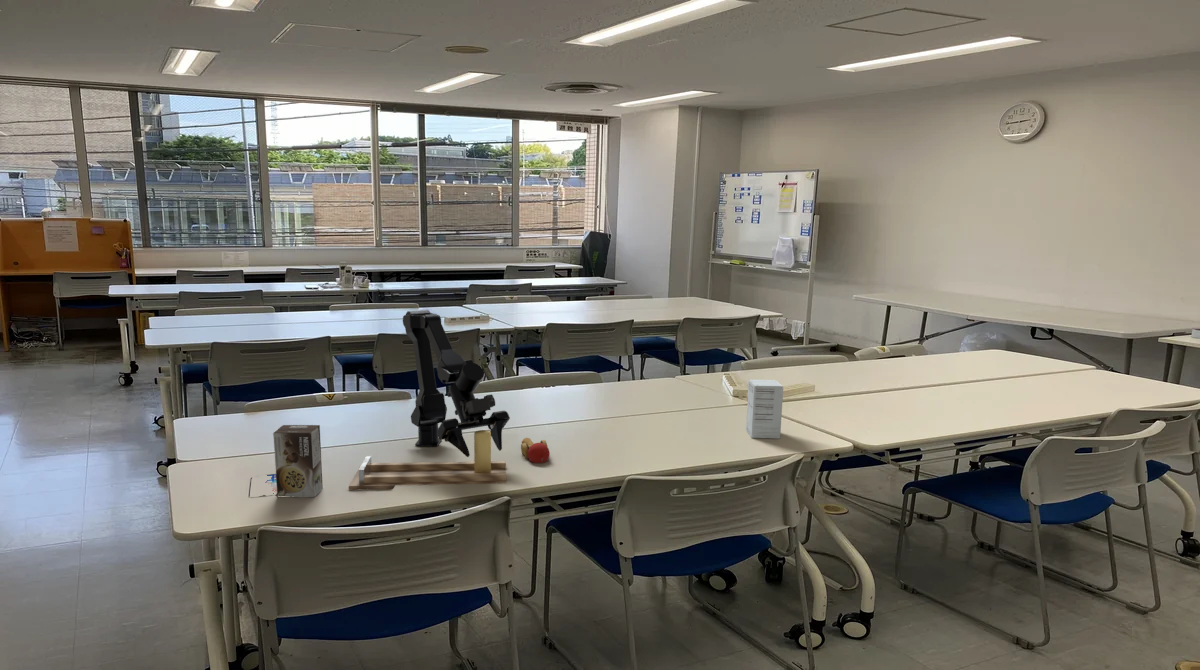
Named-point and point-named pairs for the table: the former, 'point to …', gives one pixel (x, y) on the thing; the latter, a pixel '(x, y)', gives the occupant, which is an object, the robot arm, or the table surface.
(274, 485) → the smartphone
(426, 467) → the track
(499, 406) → the table surface
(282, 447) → the coffee box
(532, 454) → the kendama
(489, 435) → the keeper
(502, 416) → the robot arm
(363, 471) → the stop
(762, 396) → the supplement box
